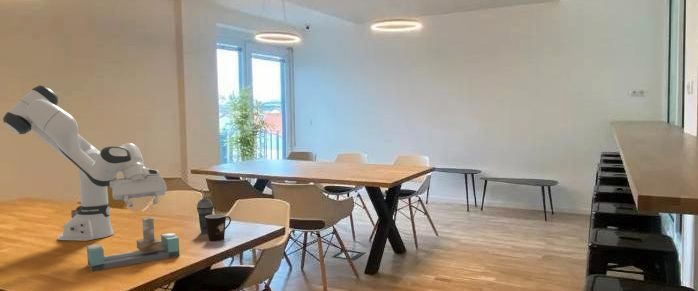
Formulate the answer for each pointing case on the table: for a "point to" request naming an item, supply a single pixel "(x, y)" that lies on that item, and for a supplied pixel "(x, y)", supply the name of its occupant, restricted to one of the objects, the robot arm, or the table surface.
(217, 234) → the coffee mug
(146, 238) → the carriage
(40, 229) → the table surface
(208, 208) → the beverage cup
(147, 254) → the rail bed
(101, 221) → the robot arm
